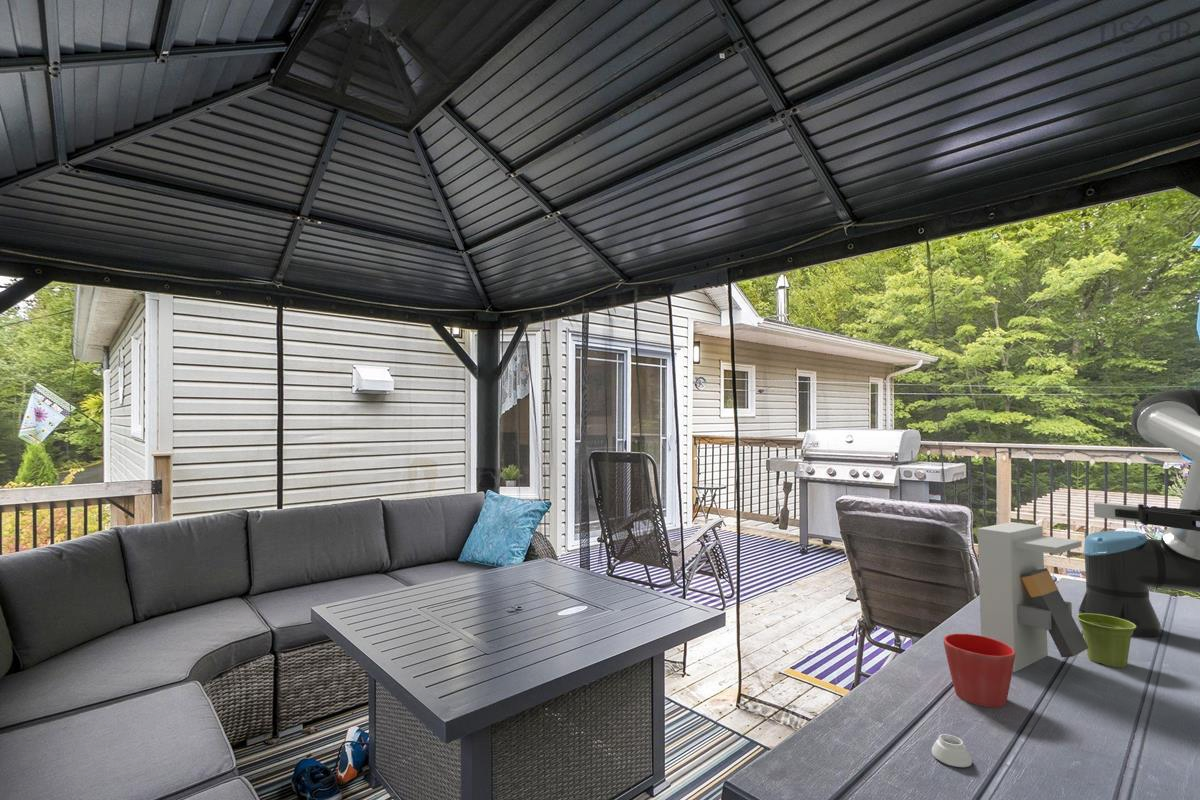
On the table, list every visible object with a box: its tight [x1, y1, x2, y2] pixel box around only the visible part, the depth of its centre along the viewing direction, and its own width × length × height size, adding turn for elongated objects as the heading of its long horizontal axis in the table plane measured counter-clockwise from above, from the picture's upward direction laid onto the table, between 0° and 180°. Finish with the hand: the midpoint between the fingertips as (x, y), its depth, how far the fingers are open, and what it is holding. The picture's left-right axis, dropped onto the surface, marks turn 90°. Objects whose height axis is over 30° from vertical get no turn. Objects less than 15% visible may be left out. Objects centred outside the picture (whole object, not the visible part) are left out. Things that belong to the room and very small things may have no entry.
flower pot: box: [942, 633, 1015, 708], centre depth 102 cm, size 11×11×10 cm
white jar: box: [931, 733, 973, 768], centre depth 83 cm, size 5×3×5 cm
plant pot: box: [1076, 613, 1136, 668], centre depth 118 cm, size 9×9×9 cm
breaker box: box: [977, 521, 1083, 673], centre depth 117 cm, size 16×13×28 cm
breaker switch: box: [1020, 567, 1089, 659], centre depth 114 cm, size 9×2×16 cm, turn 122°
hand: (1095, 509), depth 108 cm, fingers closed
